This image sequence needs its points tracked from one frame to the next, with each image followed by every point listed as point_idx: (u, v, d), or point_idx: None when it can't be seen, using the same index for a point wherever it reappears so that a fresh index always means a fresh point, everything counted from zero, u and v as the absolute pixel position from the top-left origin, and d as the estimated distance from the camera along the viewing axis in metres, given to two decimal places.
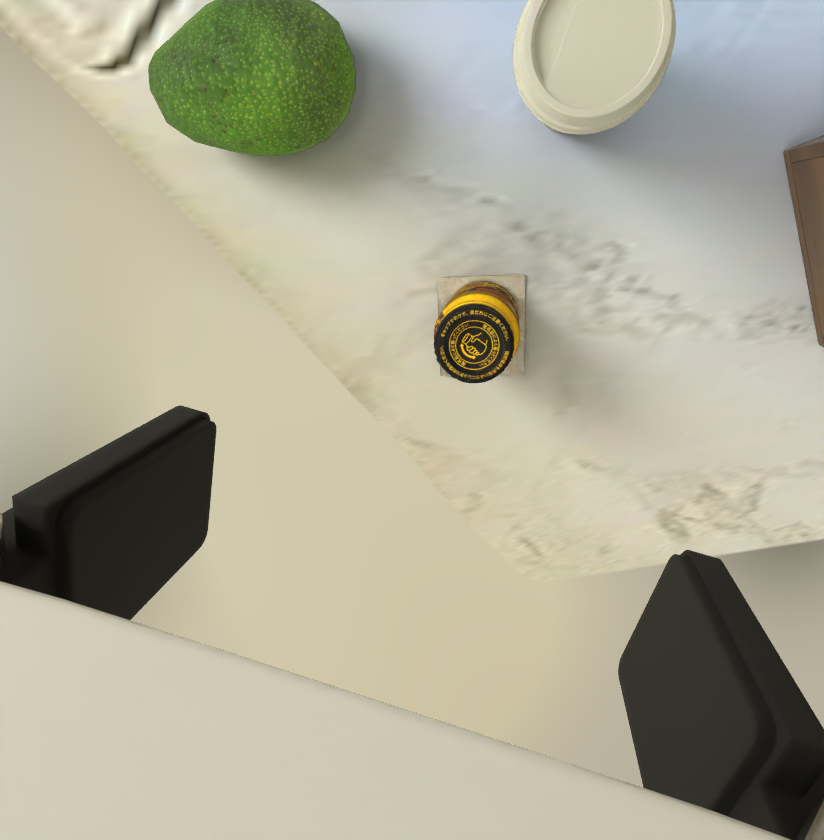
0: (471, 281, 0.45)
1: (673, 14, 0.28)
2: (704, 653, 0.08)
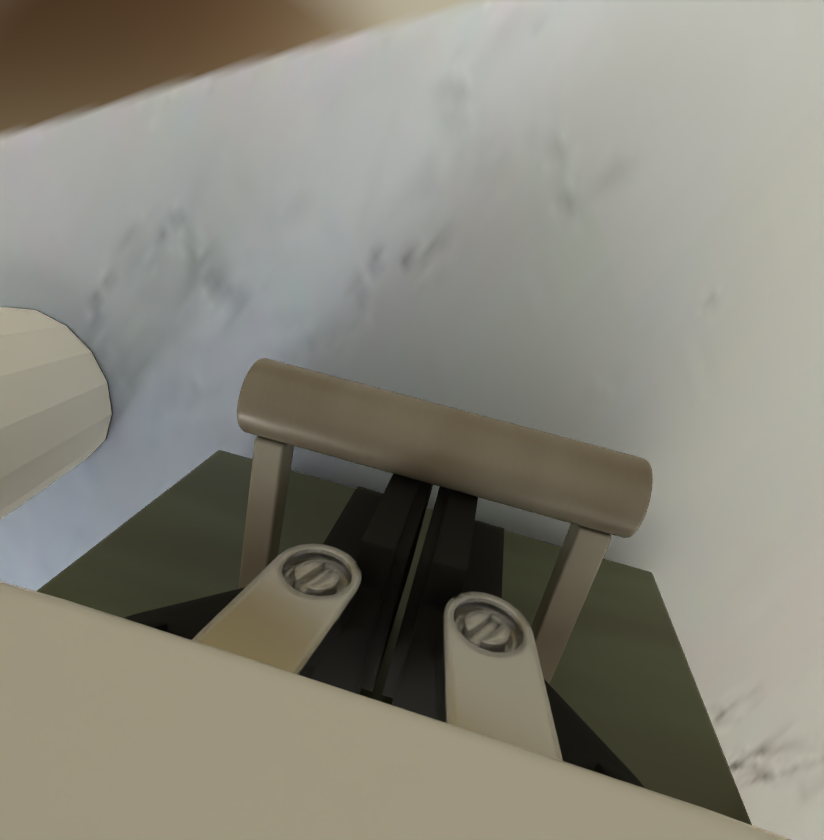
0: None
1: None
2: None
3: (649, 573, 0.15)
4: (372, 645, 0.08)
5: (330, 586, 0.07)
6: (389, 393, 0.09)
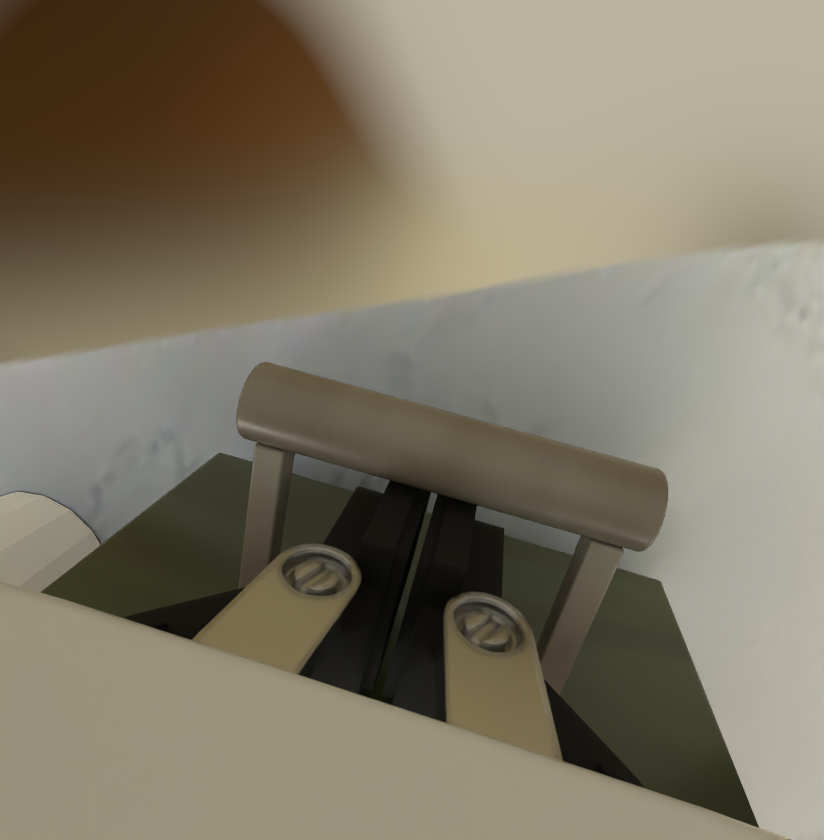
0: None
1: None
2: None
3: (658, 581, 0.15)
4: (372, 645, 0.08)
5: (330, 586, 0.07)
6: (394, 399, 0.09)
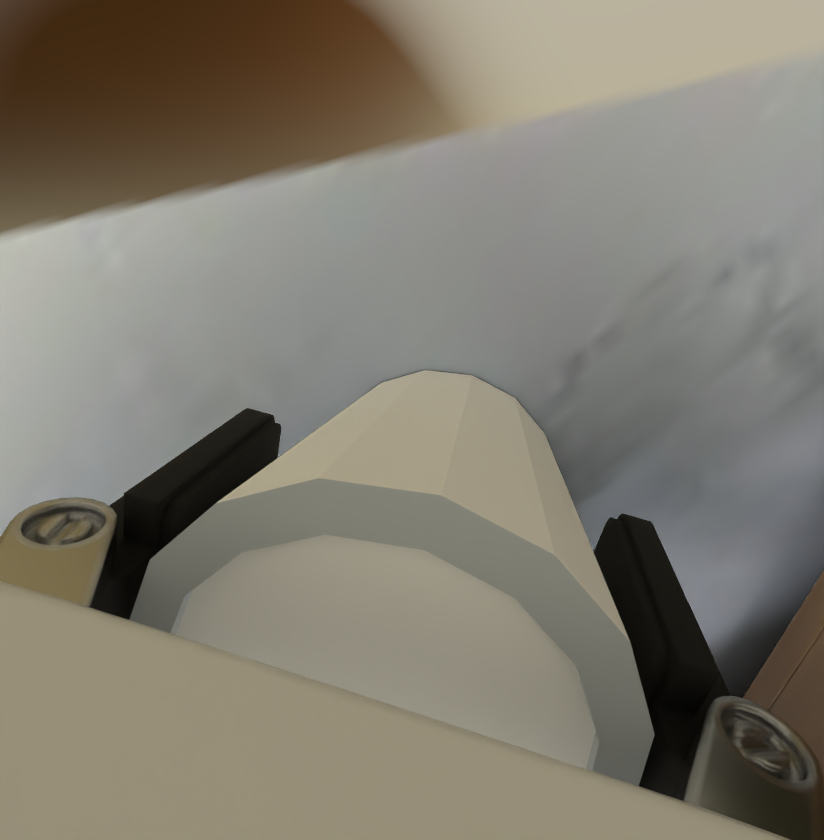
0: None
1: None
2: (624, 600, 0.09)
3: None
4: None
5: (73, 537, 0.07)
6: None
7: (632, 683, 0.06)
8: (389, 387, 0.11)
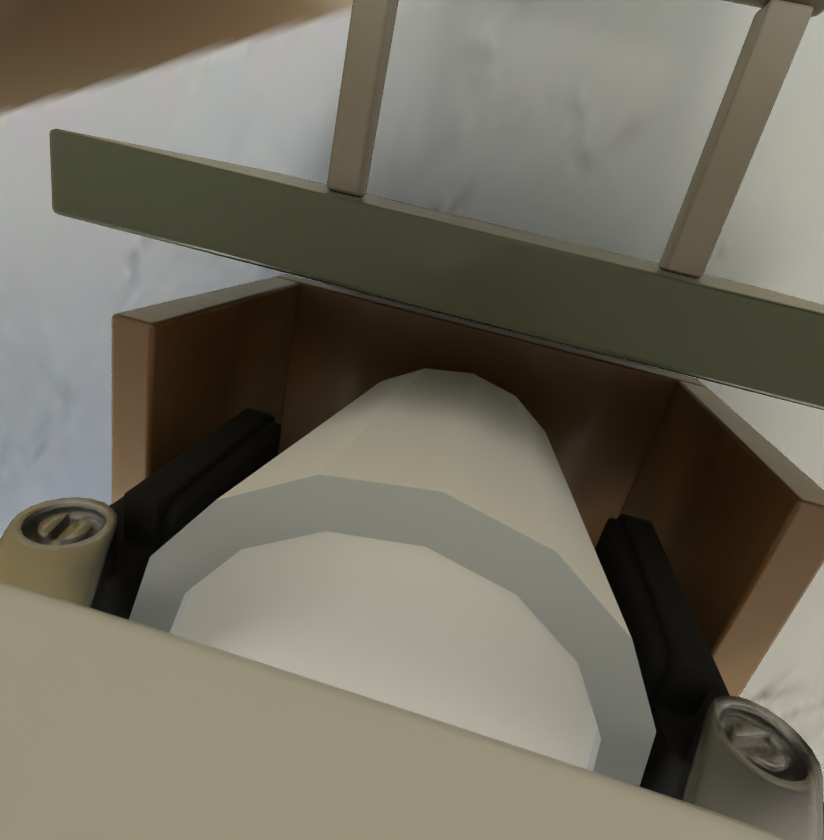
0: None
1: None
2: (623, 600, 0.09)
3: None
4: None
5: (74, 537, 0.07)
6: None
7: (634, 680, 0.06)
8: (390, 385, 0.11)
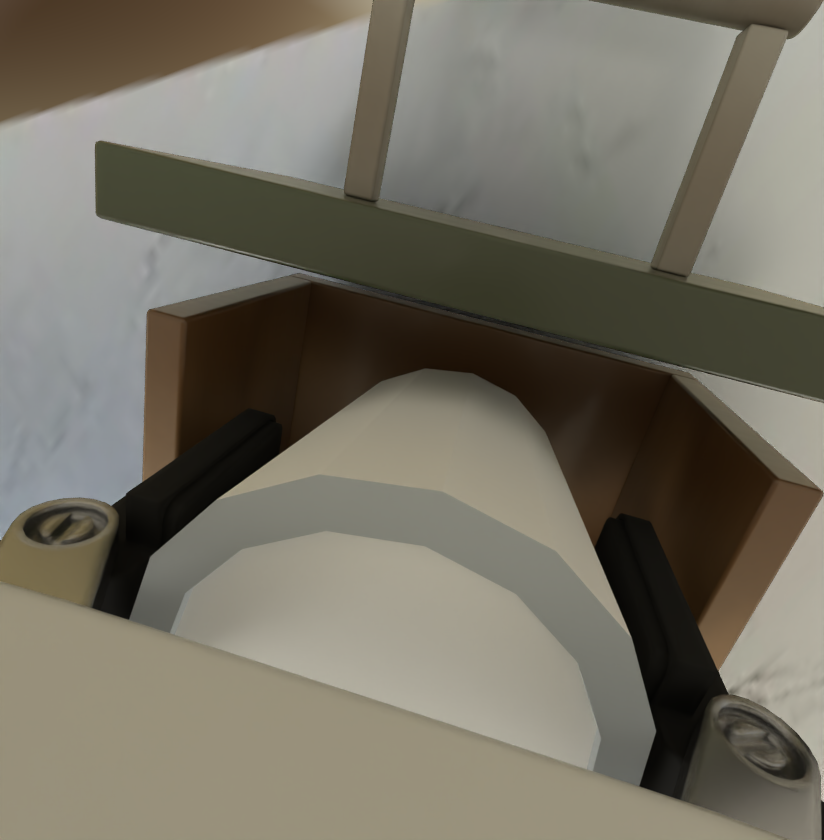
0: None
1: None
2: (622, 599, 0.09)
3: (753, 287, 0.14)
4: None
5: (76, 537, 0.07)
6: None
7: (634, 679, 0.06)
8: (390, 385, 0.11)
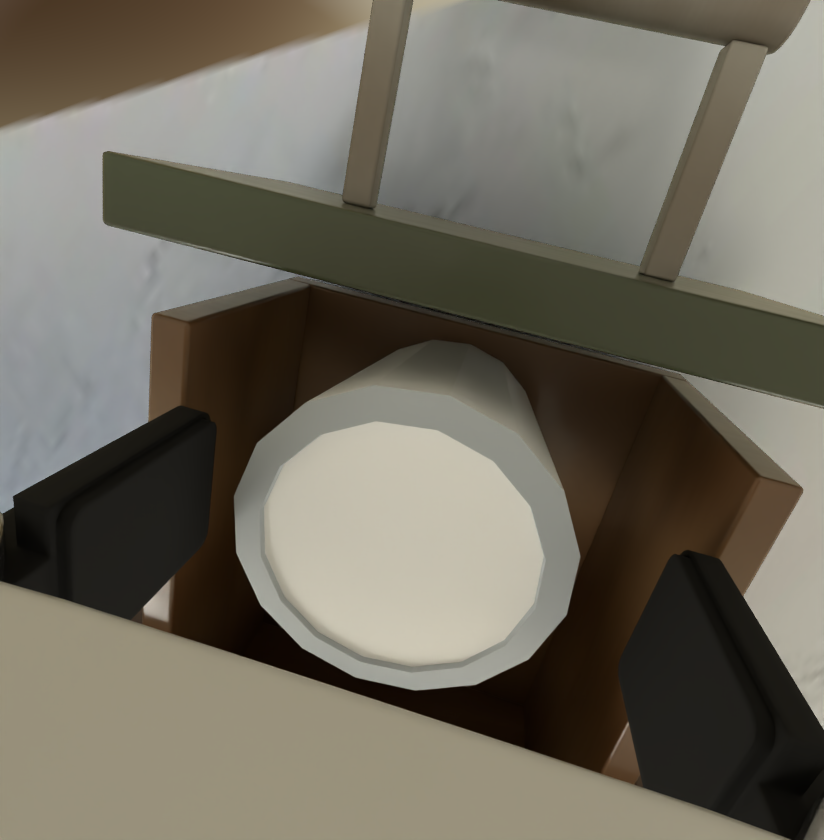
0: None
1: None
2: (703, 652, 0.08)
3: None
4: None
5: None
6: None
7: (565, 519, 0.09)
8: (407, 350, 0.15)
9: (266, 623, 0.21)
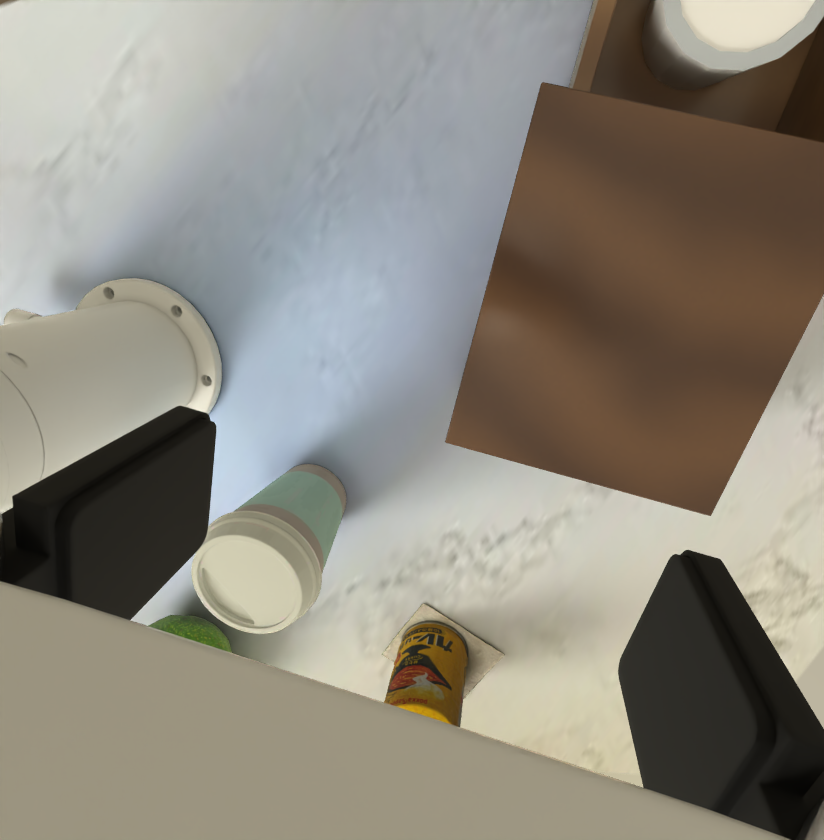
0: (401, 636, 0.48)
1: (267, 525, 0.33)
2: (704, 653, 0.08)
3: None
4: None
5: None
6: None
7: None
8: None
9: None
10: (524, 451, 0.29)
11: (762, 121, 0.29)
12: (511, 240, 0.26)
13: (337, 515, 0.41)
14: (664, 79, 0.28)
